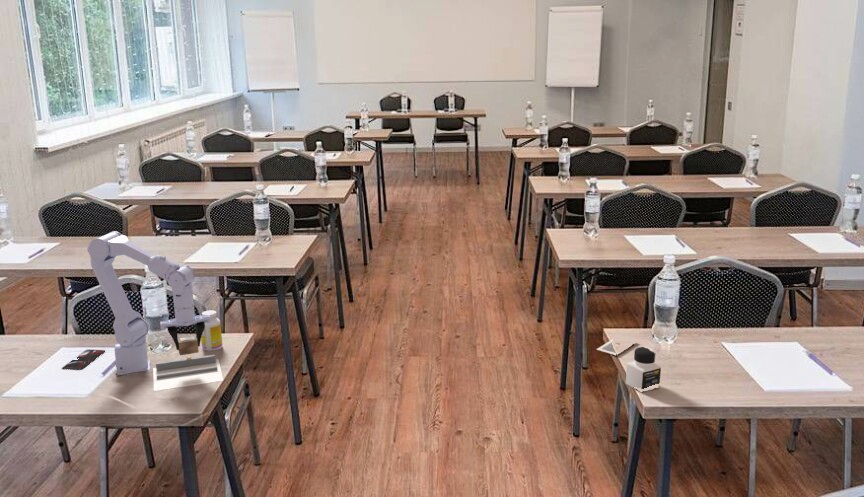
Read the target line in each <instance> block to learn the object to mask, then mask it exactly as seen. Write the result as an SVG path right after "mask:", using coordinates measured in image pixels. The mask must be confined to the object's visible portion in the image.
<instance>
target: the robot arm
mask: <svg viewBox="0 0 864 497" xmlns="http://www.w3.org/2000/svg"><path fill="white" fill-rule="evenodd" d="M87 252H88V253H89V254H88V255H89V256H90V266H91V268H92V271H93V273H94V275H95V278H96V280H97V282H98V284H99V286H100V288H101V290H102V292H103V294H104V296H105V299H106V301H107V303H108V305H109V307H110V309H111V311H112V313H113V315H114V322H113V325H112V328H113V330H114V338H115V340H116V342H117V343H115V344H114V356H115V368H116V373H117V376H123V375H128V374H132V373H137V372H145V371H150V369H151V367H150V364H151V360H150V359H148V351H147V341H146V339H147V336H146V335H147V334H148V333H149V330H150V327H149V324H148V322H147V320H145V319H144V318H143V317H142V314H141V313H140V312H138V311H136V310H134V309H133V307H132V305H131V303H130V300H129V299H128V298H129V297H128V296H127V294H126V293H125V290H124V287H123V286H122V283H121V281H120V280H119V277H118V275H117V273H116V271H115V268H114V267H113V263H114V261H115V258H116V257H117V256H126V257H128V258H130V259H132V260H134V261H137V262H138V263H141V264H143V265H145V266H147V268H148V269H147V270H148V271H149V272H150V273H152V274H154V275H156V276H157V277H160V278H161V279H163V280H165V281H166V282H167V283H168V285H169V287H170V288H171V292H172V297H173V299H172V300H173V306H174V317H175V318H171V319H168V320H164V321H159V322H160V323H159V324H160V329H161V331H163V330H166V329H167V332H168V333H169V335H170V337H171V338H172V340H173V342H174V344H175V348H176V351H177V350H178V351H179V344H178V338H179V337H178V331H177V330H178V329H177V328H179V327H187V326H191V325H192V326H193V325H194V328H195V335H196V337H197V340H198V348H199V347H201V336H202V333H203V331H204V329H205V324H204V323H206V322H207V323H210V322H211V321H210V316H209V315H202V314H201V315H196V312H195V303H194V293H193V290H194V289H193V281H194V280H195V279H196V278H195V277H196V276H195V271H194V269H193V268H192V267H190V266H189V265H187V264H183V265H181V264H180V263H178V262H177V263H176V262H174V261H172V260H170V259H168V258H167V256H166V255H164V254H161V255H160V254H156V255H153V254H151V253H150V252H148V251H146V250H145V249H143V248H142V247H141V246H138V245H137V244H136V243H134V242H132V241H130V239H129V238H128V236H127V235H124V234H122V233H120V232H119V231H115V230H113V231H110V232H108V233H107V234H104V235H101V236H99V237H96V238H93V239H92V240H91V241H90V242H89V244H88V246H87Z"/></svg>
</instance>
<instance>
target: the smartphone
mask: <svg viewBox="0 0 864 497" xmlns="http://www.w3.org/2000/svg"><path fill="white" fill-rule="evenodd" d="M105 351H106V350H105V349H85V350H84V351H82V352H81V353H80V354H79V356H78V355H77V356H78V357H77V356H76V357H77V359H78V358H79V359H78V360H73V359H72V360H70V361H69V362H67V364H65V365H63V367H61V370H67V369H68V370H69V369H70V370H72V371H82V370H84V369H85V368H87V367H88V366H89V365H90V363H91V362H92V363H93V362H94V361H96V360H97V359H98V358H100V357H101V356H102V355H103V354H105V353H106V352H105ZM104 352H105V353H104ZM102 353H103V354H102ZM101 354H102V355H101ZM100 355H101V356H100ZM99 356H100V357H99ZM97 357H98V358H97ZM96 358H97V359H96ZM95 359H96V360H95ZM92 363H91V364H92ZM68 370H67V371H68ZM70 370H69V371H70Z"/></svg>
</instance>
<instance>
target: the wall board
mask: <svg viewBox="0 0 864 497" xmlns="http://www.w3.org/2000/svg"><path fill="white" fill-rule="evenodd" d="M152 371H153V372H152V375H153V378H152V379H153V392H158V391H159V392H160V391H164V390H172V389H177V388H178V389H179V388H185V387H191V386H197V385H203V384H204V385H205V384H210V383H217V382H218V383H219V382H224V378H223V374H222V369H221V364H220V358H216V354H210V355H203V356H195V357H192V356H190V355H188V356H187V357H186V358H181V359H180V358H179V359H174V360H173V359H172V360H167V361H161V362H155V367H153V368H152Z"/></svg>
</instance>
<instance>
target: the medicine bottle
mask: <svg viewBox="0 0 864 497" xmlns="http://www.w3.org/2000/svg"><path fill="white" fill-rule="evenodd" d="M633 355H634V356H633V361H628V362H627V363H626V374H625V376H626V377H625V384H626V386H628V387H630V388H632V389H634V388H633V386H634V387H637V388H641V389H644V388H647V387H649V386H652V385H655V384H659V383H661V371H662V366H661V365H659V364H656V351H655V349H653V348H651V347H647V346H640V347H637V348H635V350H634V354H633Z"/></svg>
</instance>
